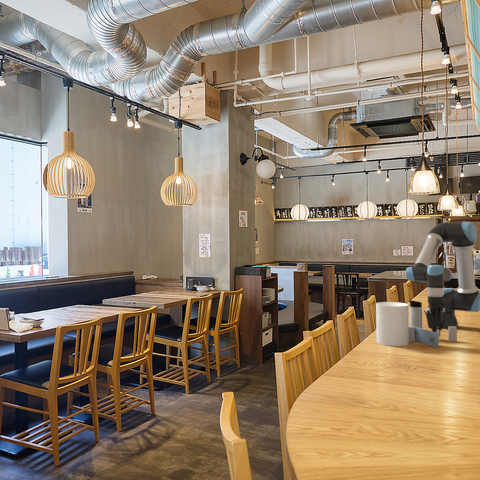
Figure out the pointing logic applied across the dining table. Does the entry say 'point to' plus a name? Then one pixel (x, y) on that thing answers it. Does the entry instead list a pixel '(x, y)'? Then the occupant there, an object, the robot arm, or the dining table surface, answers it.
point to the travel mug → (415, 314)
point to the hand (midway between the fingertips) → (436, 342)
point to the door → (426, 336)
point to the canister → (392, 323)
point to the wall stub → (452, 334)
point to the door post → (411, 334)
